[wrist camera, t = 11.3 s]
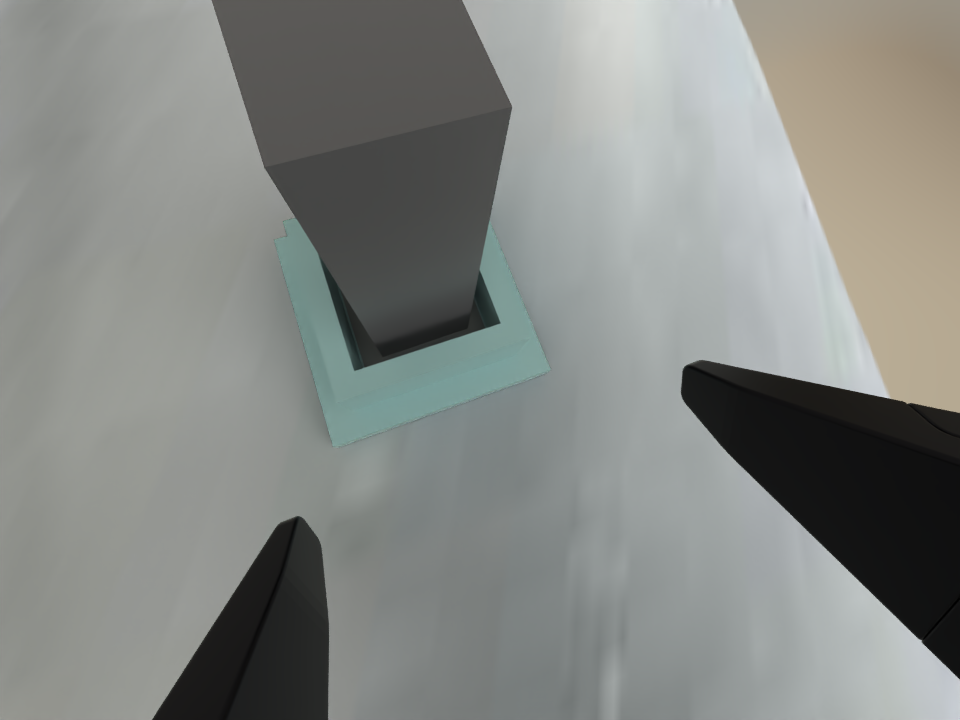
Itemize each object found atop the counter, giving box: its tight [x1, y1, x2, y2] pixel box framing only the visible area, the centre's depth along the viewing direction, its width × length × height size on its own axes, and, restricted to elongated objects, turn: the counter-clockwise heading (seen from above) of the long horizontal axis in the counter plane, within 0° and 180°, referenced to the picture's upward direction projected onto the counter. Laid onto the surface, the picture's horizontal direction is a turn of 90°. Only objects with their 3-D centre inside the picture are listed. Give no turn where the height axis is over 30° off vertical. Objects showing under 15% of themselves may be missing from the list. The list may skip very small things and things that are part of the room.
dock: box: [274, 218, 551, 448], centre depth 19 cm, size 11×11×4 cm
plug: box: [212, 0, 512, 357], centre depth 13 cm, size 4×4×13 cm
